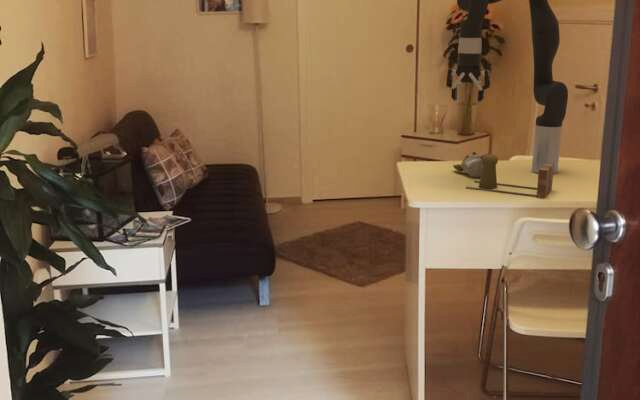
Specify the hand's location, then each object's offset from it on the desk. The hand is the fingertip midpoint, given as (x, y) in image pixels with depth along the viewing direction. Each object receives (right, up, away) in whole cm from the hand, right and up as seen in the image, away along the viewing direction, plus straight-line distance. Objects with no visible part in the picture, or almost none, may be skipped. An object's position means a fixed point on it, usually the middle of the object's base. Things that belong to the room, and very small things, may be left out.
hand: (467, 100), depth 240 cm
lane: (+12, -30, -3) cm, 32 cm away
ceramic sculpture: (+6, -25, +18) cm, 31 cm away
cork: (+7, -29, -1) cm, 30 cm away
